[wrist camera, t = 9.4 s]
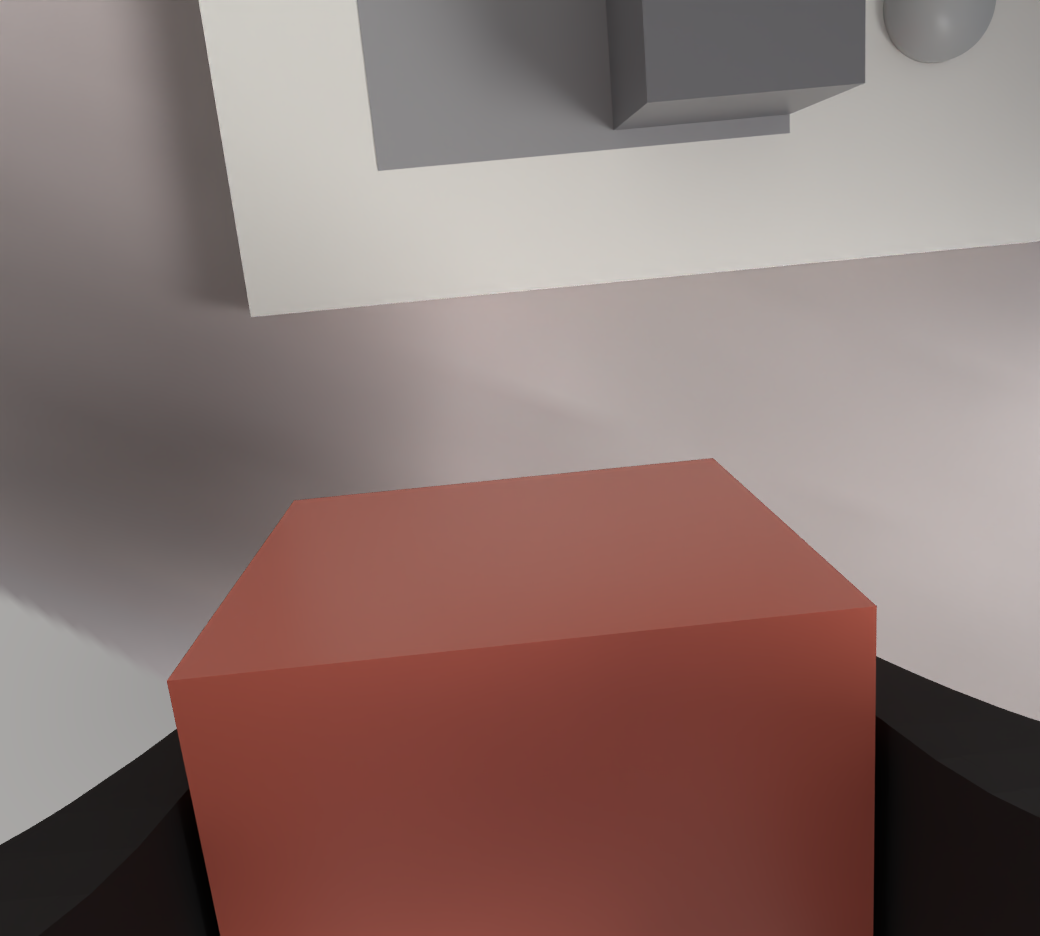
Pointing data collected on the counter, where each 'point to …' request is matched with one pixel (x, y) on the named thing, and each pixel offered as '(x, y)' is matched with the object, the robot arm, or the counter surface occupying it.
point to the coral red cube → (536, 717)
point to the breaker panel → (613, 139)
